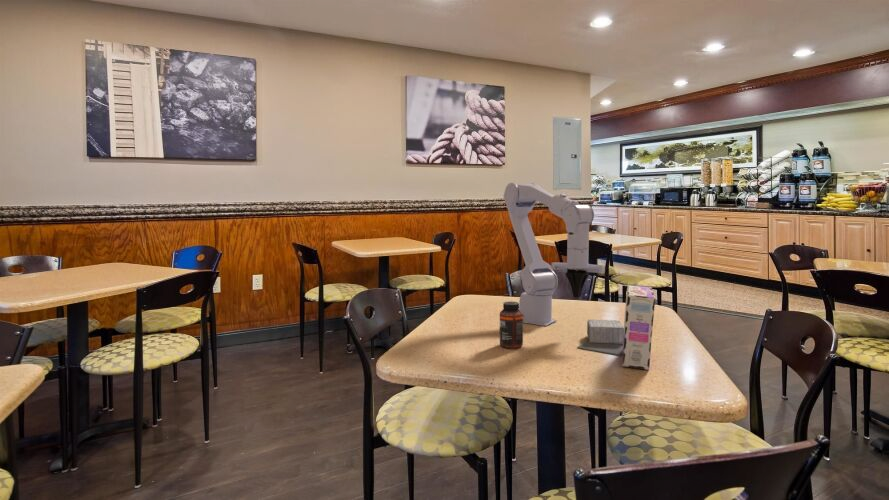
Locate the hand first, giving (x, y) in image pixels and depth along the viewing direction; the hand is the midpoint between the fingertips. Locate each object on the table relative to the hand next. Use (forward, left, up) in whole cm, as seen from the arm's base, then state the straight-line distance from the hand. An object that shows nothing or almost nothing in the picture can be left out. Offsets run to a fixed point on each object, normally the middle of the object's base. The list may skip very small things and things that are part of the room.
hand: (577, 297), depth 137 cm
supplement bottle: (-9, -21, -11) cm, 25 cm away
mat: (+11, -5, -10) cm, 16 cm away
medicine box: (+5, -4, -8) cm, 10 cm away
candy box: (+20, -14, -10) cm, 26 cm away
